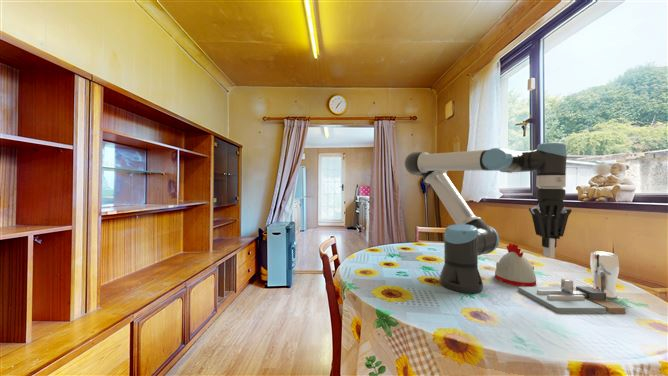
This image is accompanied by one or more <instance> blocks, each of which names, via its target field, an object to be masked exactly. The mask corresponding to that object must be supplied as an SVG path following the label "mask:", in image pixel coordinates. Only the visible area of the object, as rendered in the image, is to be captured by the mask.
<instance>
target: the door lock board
mask: <svg viewBox="0 0 668 376" xmlns="http://www.w3.org/2000/svg"><path fill="white" fill-rule="evenodd" d="M517 291H518V292H520V294H522V295H525V296H526V297H528V298H529V299H532V300H534V301H535V302H537V303H539V304H541V305H543V306H544V307H546V308H549V309H550V310H552V311H553V312H555V313H565V314H566V313H567V314H568V313H571V314H574V313H577V314H578V313H579V314H580V313H581V314H585V313H586V314H606V313H609V314H626V307H624V306H621V305H619V304H616V303H614V302H612V301H609V300H607V298H606V293H605V292H602V291H600V290H597V289H594V288H593V287H592V286H589V285H588V286H587V285H585V286H584V285H583V286H581V285H578V286H577V285H576V286H575V287H574V286H573V291H585V292H587V293H589V297H584V296H583V295H560V294H559V291H561V287H559V286H532V287H524V286H517Z"/></svg>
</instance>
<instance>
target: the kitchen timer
mask: <svg viewBox="0 0 668 376" xmlns="http://www.w3.org/2000/svg"><path fill="white" fill-rule="evenodd" d="M506 250H507V253H506V254H504V255H502V257H501V258H500V259H499V261H497V262H496V264H495V265H496V266H495V267H496V268H495V271H494V277H495V279H496V280H497V281H500V282H502V283H505V284H508V285H511V286H517V287H524V286H525V287H529V286H530V287H531V286H532V287H536V285H537V276H536V273H535V266H534V265H532V264H531V262H530V261H529V259H528V258H526V256H524V251H522V250H521V248H519V246H518V244H515V243H508V245H506ZM521 251H522V252H521Z"/></svg>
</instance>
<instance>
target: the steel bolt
mask: <svg viewBox="0 0 668 376" xmlns="http://www.w3.org/2000/svg"><path fill="white" fill-rule="evenodd" d="M573 287H574V280H573V279H568V278H561V280H560V288H561V291H559V294H560V295H583V296H584V297H589V293H587V292H585V291H573Z"/></svg>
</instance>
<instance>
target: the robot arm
mask: <svg viewBox="0 0 668 376" xmlns="http://www.w3.org/2000/svg"><path fill="white" fill-rule="evenodd" d="M536 147H537V148H536V149H535V150H527V151H515V150H510V149H506V148H503V147H493V148H490V149H487V150H486V149H482V150H481V149H480V150H469V151H468V150H467V151H465V150H464V151H453V152H439V153H438V152H437V153H433V152H431V153H429V152H428V151H427V152H426V151H413V152H411V153H409V154H408V155H407V156H406V158H405V160H404V168H405V170H406V171H407V172H408V174H410V175H413V176H421V178H422V180H423V181H424V182H425V183H426V184H430V186H431V187H432V189H433V191H434V192H435V194H436V195H437V197H438V198H439V200H440V201H441V203H442V204H443V206H444V207H445V209H446V211H447V212H448V214H449V216H450V217H451V218H452V220H453V222H454V223H455V224H450V225H448V226H447V227H446V228H445V229H444V235H443V238H444V239H443V240H444V242H443V243H444V253H443V254H444V259H443V261H444V262H443V263H444V264H443V267H442V269H441V272H440V274H439V284H440V285H442V286H443V287H444V288H446V289H449V290H451V291H454V292H459V293H464V294H475V293H481V292H483V290H484V283H483V279H482V277H481V274H480V271H479V269H478V262H479V259H478V256H482V255H486V254H487V255H488V254H491V253H492V252H494V251H495V250H496V249H497V248H498V246H499V244H500V237H499V235H500V234H499V233H498V232H497V230H496V229H495V228H494V227H492V226H490V225H487V224H486V222H485V221H484V219H483V218H482V217H480V216H476V215H475V213H474V212H473V210H472V209H471V207H470V206H469V205H468V203H467V202H466V201H465V199H464V198H463V196H462V194H460V192H459V190H458V189H457V188H456V186H455V185H454V184H453V182H452V181H451V179H450V178H449V176H448V175H447V173H448V171H450V172H455V171H458V172H459V171H461V172H463V171H468V172H469V171H474V172H475V171H477V172H478V171H479V172H480V171H486V172H487V171H492V172H493V171H495V172H496V171H498V172H501V173H506V174H507V173H510V174H512V173H523V172H524V173H525V172H536V180H535V183H536V184H535V187H537V189H535V192H536V193H535V199H536V200H537V201H536V203H535V206H533V207H529V208H528V211H529V213H530V214H531V218H532V222H533V228H534V232H535V235H537V236H539V237H540V238H541V246H542V248H543V249H542V250H543V252H542V253H543V255H542V256H543V257H546V258H549V259H555V256H556V253H555V252H556V251H555V250H556V248H557V240H560V239H561V237H564V236H565V231H566V227H567V223H568V220H569V219H568V218H569V216H570V214H571V213H572V210H573V209H571V208H567V207H566V206H565V203H564V201H565V200H566V189H564V188H565V187H566V181H567V176H566V174H567V173H566V172H567V157H568V155H567V145H566V144H565V143H564V142H561V141H557V142H556V141H554V142H552V141H551V142H544V143H543V142H542V143H539V144H537V146H536Z"/></svg>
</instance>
